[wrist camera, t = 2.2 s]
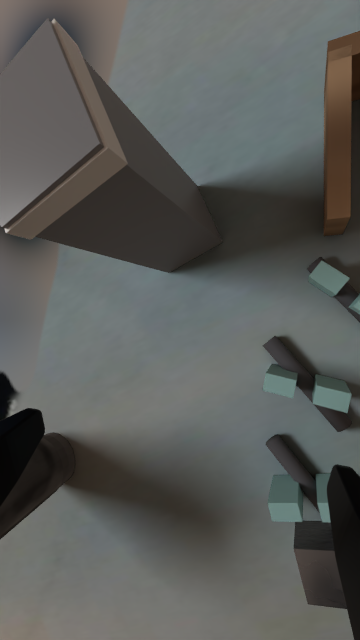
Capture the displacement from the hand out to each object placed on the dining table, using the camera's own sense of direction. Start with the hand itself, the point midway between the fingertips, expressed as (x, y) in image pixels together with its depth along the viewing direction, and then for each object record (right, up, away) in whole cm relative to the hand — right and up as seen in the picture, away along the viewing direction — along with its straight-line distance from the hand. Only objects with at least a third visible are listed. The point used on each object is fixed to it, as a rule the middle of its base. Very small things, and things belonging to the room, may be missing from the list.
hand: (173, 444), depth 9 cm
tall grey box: (0, +10, +12) cm, 16 cm away
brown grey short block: (+9, -10, +9) cm, 16 cm away
